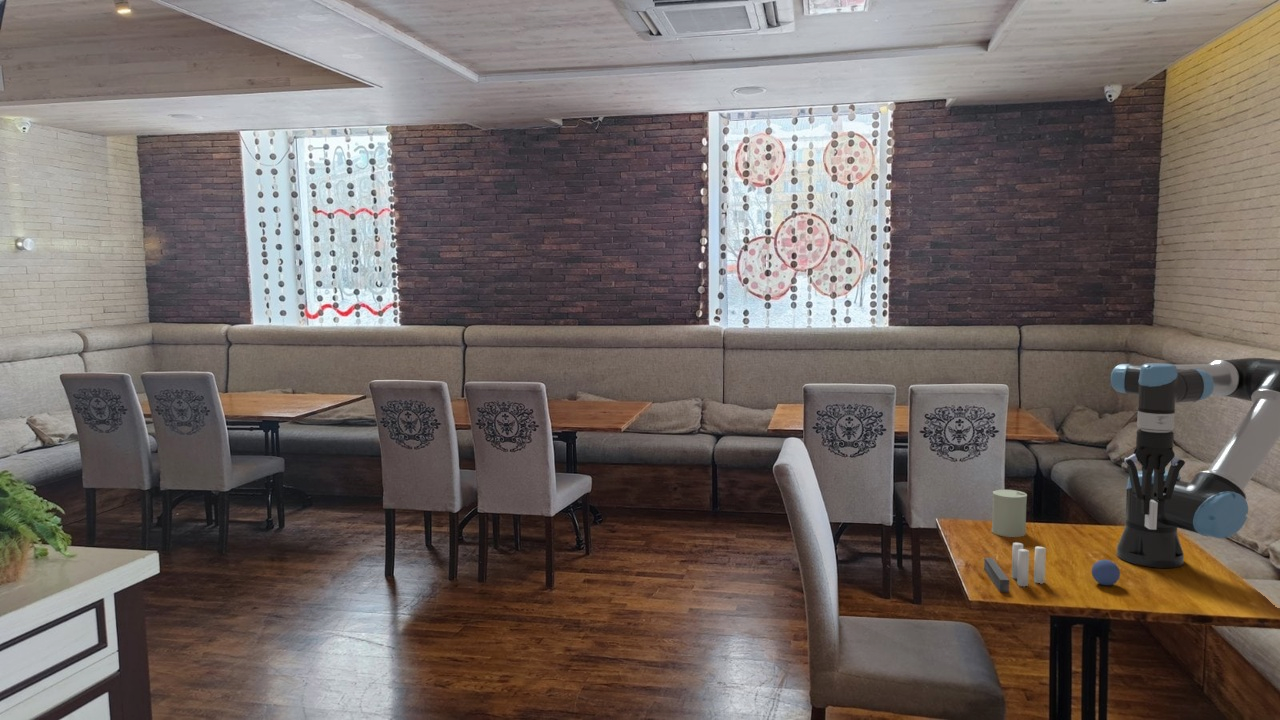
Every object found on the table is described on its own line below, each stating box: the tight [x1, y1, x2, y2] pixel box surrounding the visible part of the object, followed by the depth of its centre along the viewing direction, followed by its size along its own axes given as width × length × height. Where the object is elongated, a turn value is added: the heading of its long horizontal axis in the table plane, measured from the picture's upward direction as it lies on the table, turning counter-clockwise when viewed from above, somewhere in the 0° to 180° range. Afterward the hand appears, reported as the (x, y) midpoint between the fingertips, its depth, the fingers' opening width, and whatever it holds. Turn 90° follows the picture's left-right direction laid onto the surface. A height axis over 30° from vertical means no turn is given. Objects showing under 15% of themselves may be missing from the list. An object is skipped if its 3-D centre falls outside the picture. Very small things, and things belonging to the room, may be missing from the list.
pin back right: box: [1011, 542, 1024, 580], centre depth 217 cm, size 2×2×8 cm
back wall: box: [983, 557, 1010, 593], centre depth 216 cm, size 2×16×3 cm, turn 171°
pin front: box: [1033, 545, 1047, 585], centre depth 214 cm, size 2×2×8 cm
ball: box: [1091, 559, 1121, 586], centre depth 212 cm, size 6×6×6 cm
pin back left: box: [1016, 548, 1030, 588], centre depth 212 cm, size 2×2×8 cm
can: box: [991, 489, 1028, 538], centre depth 254 cm, size 9×9×12 cm
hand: (1150, 527), depth 209 cm, fingers closed
